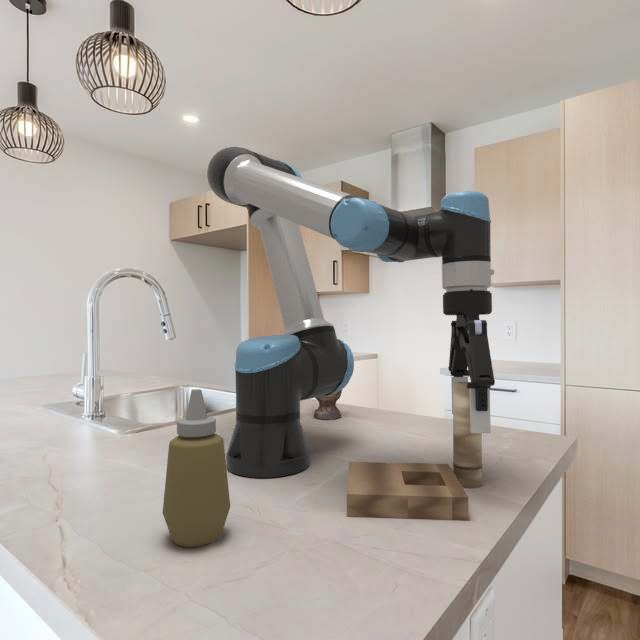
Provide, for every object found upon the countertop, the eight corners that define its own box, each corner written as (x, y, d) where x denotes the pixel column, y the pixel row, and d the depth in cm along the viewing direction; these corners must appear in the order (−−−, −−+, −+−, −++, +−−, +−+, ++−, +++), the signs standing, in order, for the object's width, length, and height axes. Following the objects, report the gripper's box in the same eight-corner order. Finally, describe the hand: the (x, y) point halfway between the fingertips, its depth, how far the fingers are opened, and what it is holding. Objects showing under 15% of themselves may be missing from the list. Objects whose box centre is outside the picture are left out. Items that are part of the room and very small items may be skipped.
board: (346, 516, 62) (346, 493, 62) (349, 479, 76) (349, 461, 76) (468, 520, 60) (468, 497, 60) (448, 482, 74) (448, 463, 74)
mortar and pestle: (296, 415, 126) (296, 343, 126) (317, 411, 132) (317, 341, 132) (329, 422, 118) (328, 344, 118) (349, 416, 125) (349, 343, 125)
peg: (456, 487, 72) (455, 385, 72) (450, 477, 76) (450, 381, 76) (485, 488, 72) (485, 386, 72) (478, 478, 76) (477, 382, 76)
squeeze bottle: (235, 521, 60) (234, 384, 60) (224, 552, 52) (223, 395, 52) (173, 522, 60) (172, 385, 60) (153, 554, 52) (152, 395, 52)
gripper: (516, 283, 61) (520, 442, 61) (472, 294, 86) (474, 408, 86) (459, 284, 62) (462, 442, 62) (431, 295, 87) (433, 408, 87)
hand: (469, 422), depth 74 cm, fingers open, 13 cm apart
